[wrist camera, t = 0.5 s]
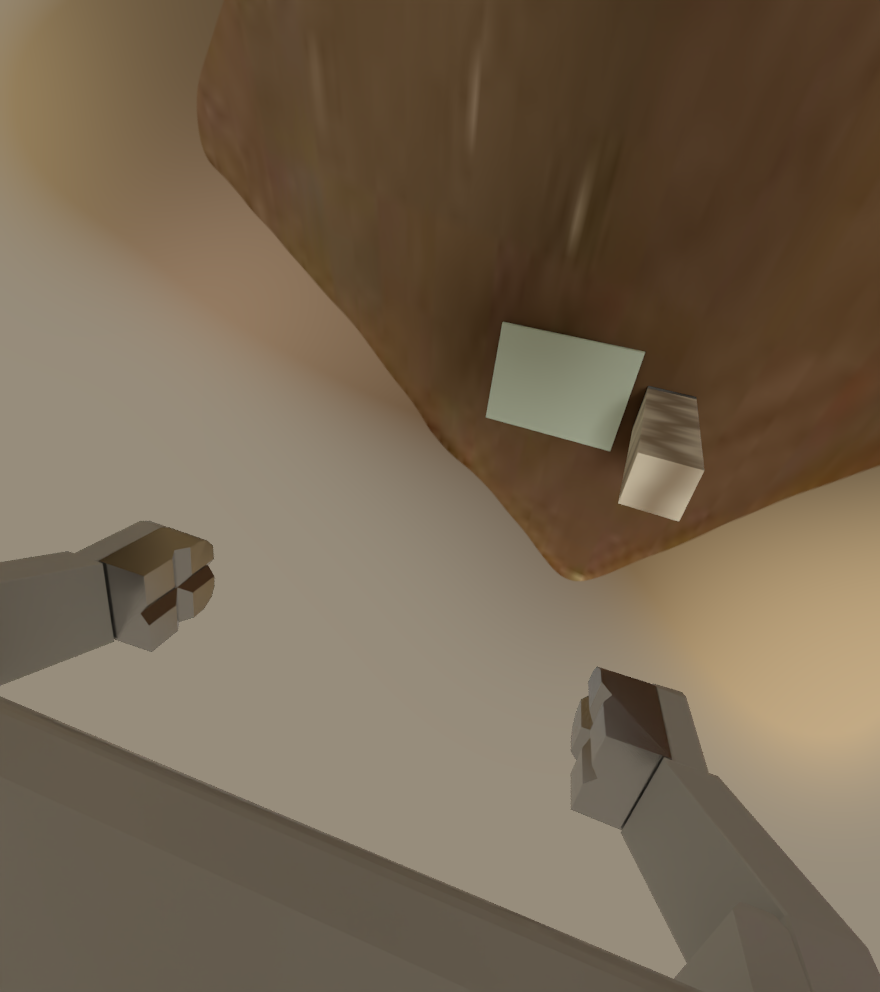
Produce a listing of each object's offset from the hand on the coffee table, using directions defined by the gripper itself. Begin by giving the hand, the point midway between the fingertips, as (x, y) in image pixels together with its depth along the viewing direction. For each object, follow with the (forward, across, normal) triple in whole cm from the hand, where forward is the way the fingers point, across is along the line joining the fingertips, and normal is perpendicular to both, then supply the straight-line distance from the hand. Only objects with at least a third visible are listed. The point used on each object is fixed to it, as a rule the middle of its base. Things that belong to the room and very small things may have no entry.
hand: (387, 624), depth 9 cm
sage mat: (+51, -3, +3) cm, 51 cm away
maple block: (+49, -15, +2) cm, 52 cm away
